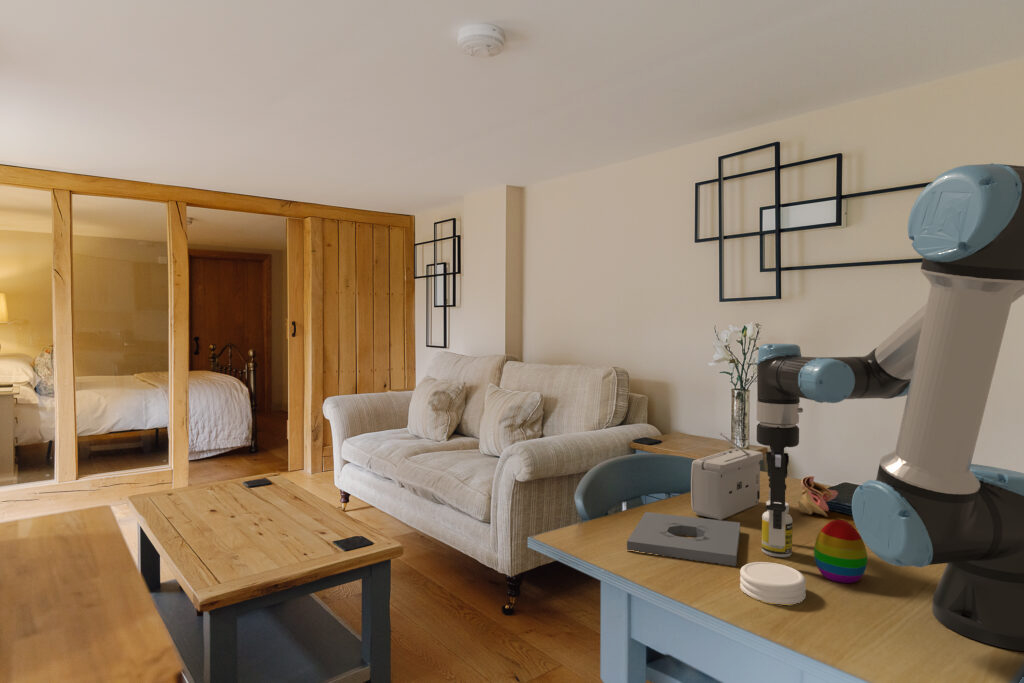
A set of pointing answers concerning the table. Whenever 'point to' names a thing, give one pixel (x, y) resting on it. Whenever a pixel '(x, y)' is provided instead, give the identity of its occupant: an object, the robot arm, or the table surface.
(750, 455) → the stereo radio cassette player
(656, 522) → the holder plate
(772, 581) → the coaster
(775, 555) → the supplement bottle
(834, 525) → the decorative egg
